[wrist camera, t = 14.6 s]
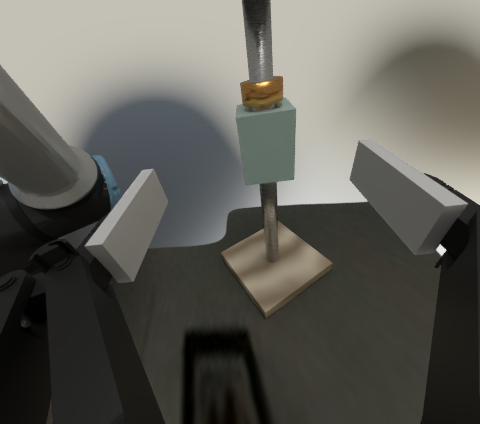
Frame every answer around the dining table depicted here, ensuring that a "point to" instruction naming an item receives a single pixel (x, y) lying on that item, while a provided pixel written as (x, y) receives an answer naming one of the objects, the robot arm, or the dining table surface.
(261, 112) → the sleeve
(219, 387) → the dining table surface
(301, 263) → the stand base
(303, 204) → the dining table surface
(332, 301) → the dining table surface
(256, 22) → the post
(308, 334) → the dining table surface
